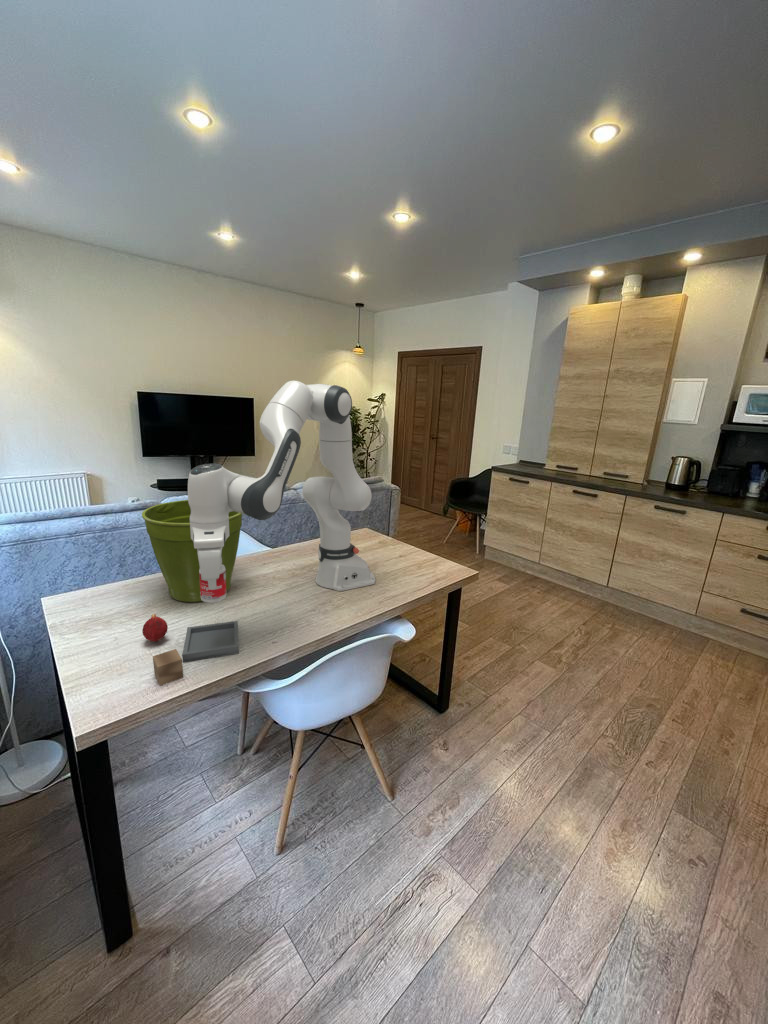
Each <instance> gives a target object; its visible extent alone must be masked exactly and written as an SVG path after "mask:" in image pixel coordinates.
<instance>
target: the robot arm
mask: <svg viewBox="0 0 768 1024" xmlns="http://www.w3.org/2000/svg"><path fill="white" fill-rule="evenodd" d="M352 409H353V399H352V396H351V394H350V392H349V390H348V389H346V388H345V387H344V386H340V385H335V384H334V385H330V384H324V383H315V384H312V383H311V384H310V383H309V384H305V383H304V382H301V381H299V380H290V381H289V380H288V381H287V382H285V383H284V384H283V385H282V386H281V388H279V390H277V392H275V394H274V396H272V398H271V400H269V402H268V404H267V405H266V407H265V408H264V410H263V412H262V414H261V416H260V419H259V428H260V431H261V433H262V435H263V437H264V438H265V439H266V440H267V441H268V442H269V443H271V445H273V446H274V450H273V454H272V455H271V459H270V460H269V463H268V465H267V467H266V470H265V472H264V474H263V475H261V476H259V477H257V478H256V477H251V476H247V475H244V474H239V473H236V472H233V471H231V470H228V469H227V468H225V467H224V466H223V465H222V464H220V463H204V464H199V465H197V466H195V467H193V468H192V469H191V470H190V471H189V474H188V477H187V478H188V480H187V500H188V503H189V506H190V509H191V514H190V533H191V539H192V540H193V542H194V548H195V549H197V554H198V560H199V566H200V571H201V576H202V579H203V580H207V581H208V588H209V589H216V579H218V578H219V575H220V565H221V553H222V547H224V544H225V541H226V539H227V538H228V537H229V516H228V514H229V512H231V511H235V512H238V513H242V515H245V516H248V517H250V518H252V519H256V520H257V521H266V520H269V519H270V518H272V517H273V516H275V515H276V513H277V512H278V511H279V510H280V509H281V506H282V503H283V497H284V492H285V489H286V486H287V484H288V481H289V478H290V477H291V476H290V475H291V473H292V471H293V468H294V467H295V463H296V460H297V458H298V456H299V455H298V454H299V452H300V449H301V446H302V445H301V444H302V441H301V439H302V438H301V435H300V433H301V430H302V428H303V427H304V425H305V423H306V421H307V420H309V421H313V422H319V428H318V429H319V430H318V438H319V439H318V445H319V446H318V447H319V448H318V449H319V461H320V463H321V464H322V466H323V467H325V468H326V469H328V471H330V472H331V474H332V475H333V477H329V476H322V475H321V476H312V477H311V476H310V477H308V478H307V479H306V480H305V481H304V483H303V485H302V489H301V491H302V492H301V494H302V498H303V499H304V501H305V503H307V504H308V505H309V506H310V507H311V509H312V510H313V511H314V513H315V515H316V517H317V521H318V524H319V525H318V526H319V544H318V553H317V554H318V560H319V561H318V567H317V573H316V577H315V580H314V582H315V583H316V584H317V585H318V586H319V587H322V588H327V589H332V590H334V591H338V592H343V591H347V590H348V591H349V590H353V589H358V588H361V587H366V586H370V585H375V583H376V577H375V575H374V573H373V572H372V571H370V568H369V564H368V563H367V561H366V560H365V559H364V558H362V557H361V556H359V553H360V550H359V548H358V547H357V546H356V545H354V544H353V543H351V535H352V527H351V524H350V522H349V521H348V519H346V518H345V517H343V516H342V515H341V513H340V511H341V510H342V511H347V512H360V511H365V510H366V509H368V508H369V506H370V504H371V502H372V496H373V495H372V490H371V488H370V486H369V485H368V484H367V483H366V482H365V481H364V480H363V479H362V477H360V475H359V474H358V472H357V469H356V467H355V464H354V459H353V457H354V455H353V442H352V441H353V438H352V437H353V434H352V432H353V431H352V423H351V417H350V414H351V412H352Z"/></svg>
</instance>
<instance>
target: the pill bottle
mask: <svg viewBox="0 0 768 1024" xmlns="http://www.w3.org/2000/svg"><path fill="white" fill-rule="evenodd" d="M199 577H200V595H201V600H202V601H201V602H204V603H208V604H209V603H210V604H211V603H212V604H213V603H219V602H221V601H223V600H224V599H225V598H227V592H226V569H225V566H224V565H223V564H222V557H221V565H220V575H219V578H218V579H216V589H209V588H208V581H207V580H203V579H202V576H201V571H200V569H199Z"/></svg>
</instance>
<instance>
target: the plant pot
mask: <svg viewBox="0 0 768 1024" xmlns="http://www.w3.org/2000/svg"><path fill="white" fill-rule="evenodd" d="M190 514H191V509H190V506H189V503H188V499H185V500H184V499H183V500H175V501H168V502H164V503H160V504H156V505H152V506H149V507H147V508H146V509H144V510H143V511H142V513H141V518H142V519H143V520H144V523H145V524H144V525H145V528H146V533H147V534H148V536H149V537H148V538H149V541H150V545H151V547H152V551H153V553H154V555H155V556H154V557H155V559H156V562H157V565H158V567H159V569H160V572H161V575H162V576H163V578H164V581H165V583H166V584H167V589H168V593H169V596H170V597H172V599H175V600H177V601H179V602H185V603H188V602H189V603H196V602H203V601H202V600H201V595H200V577H199V569H200V566H199V560H198V554H197V549H195V548H194V542H193V540H192V539H191V533H190ZM228 516H229V537H228V538H227V539H226V541H225V544H224V547H222V553H221V557H222V564H223V565H224V566H225V569H226V593H228V591H229V589H230V588H231V586H232V575H233V572H234V567H235V563H236V559H237V555H238V550H239V549H238V548H239V542H240V535H241V527H242V526H243V525H242V524H243V514H242V513H238V512H235V511H231V512H229V514H228Z"/></svg>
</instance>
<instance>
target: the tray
mask: <svg viewBox="0 0 768 1024" xmlns="http://www.w3.org/2000/svg"><path fill="white" fill-rule="evenodd" d="M238 624H239V622H238V620H234V621H226V622H220V623H219V622H218V623H210V624H202V625H195V626H188V627H186V634H185V638H184V642H183V643H184V644H183V648H182V649H183V650H182V655H181V658H182V663H189V662H195V661H201V660H206V659H212V658H213V659H214V658H220V657H226V656H233V655H238V654H239V625H238Z"/></svg>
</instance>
